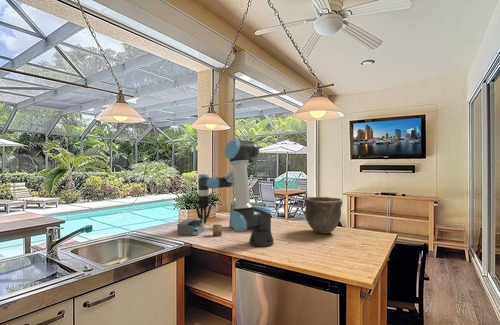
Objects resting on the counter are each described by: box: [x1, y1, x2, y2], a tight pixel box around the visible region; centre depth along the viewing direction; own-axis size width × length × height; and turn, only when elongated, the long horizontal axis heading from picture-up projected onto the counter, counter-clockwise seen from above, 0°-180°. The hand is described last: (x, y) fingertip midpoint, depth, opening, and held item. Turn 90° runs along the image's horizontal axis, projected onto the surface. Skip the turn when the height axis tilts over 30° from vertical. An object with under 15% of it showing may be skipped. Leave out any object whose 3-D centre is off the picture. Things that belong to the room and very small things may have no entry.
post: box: [212, 223, 223, 238], centre depth 190 cm, size 6×6×7 cm
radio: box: [228, 198, 269, 231], centre depth 210 cm, size 30×8×25 cm, turn 73°
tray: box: [193, 224, 206, 236], centre depth 198 cm, size 17×12×5 cm
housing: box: [176, 218, 202, 237], centre depth 198 cm, size 19×13×8 cm
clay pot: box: [304, 196, 343, 235], centre depth 197 cm, size 26×26×25 cm
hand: (203, 227), depth 199 cm, fingers closed
